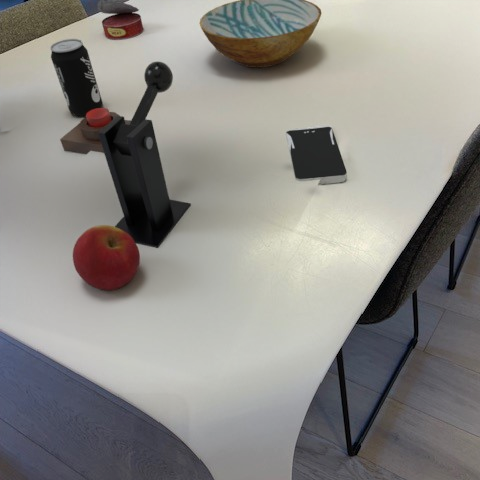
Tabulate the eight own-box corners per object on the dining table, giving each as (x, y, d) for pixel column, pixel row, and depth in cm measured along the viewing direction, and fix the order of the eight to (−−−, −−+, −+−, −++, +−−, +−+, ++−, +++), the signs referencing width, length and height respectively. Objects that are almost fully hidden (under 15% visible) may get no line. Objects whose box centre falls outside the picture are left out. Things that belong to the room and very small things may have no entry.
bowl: (186, 78, 103) (180, 36, 97) (227, 34, 119) (223, -5, 113) (304, 85, 96) (304, 40, 90) (331, 37, 112) (333, -4, 106)
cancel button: (84, 127, 84) (81, 117, 83) (97, 116, 87) (94, 106, 85) (103, 129, 83) (100, 119, 82) (116, 118, 85) (113, 108, 84)
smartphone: (295, 179, 73) (285, 129, 82) (295, 187, 74) (285, 137, 83) (347, 174, 72) (331, 125, 82) (347, 182, 73) (330, 132, 83)
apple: (102, 313, 59) (80, 263, 53) (75, 278, 64) (53, 229, 58) (156, 284, 62) (142, 234, 56) (127, 253, 66) (111, 203, 60)
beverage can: (93, 119, 94) (72, 52, 85) (64, 117, 96) (40, 51, 87) (109, 103, 98) (91, 38, 89) (81, 101, 100) (60, 37, 91)
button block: (64, 150, 87) (56, 129, 84) (92, 126, 92) (86, 105, 89) (121, 160, 83) (115, 137, 80) (148, 134, 88) (142, 112, 85)
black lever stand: (144, 201, 74) (118, 104, 63) (192, 210, 72) (173, 110, 61) (109, 242, 68) (73, 142, 57) (159, 253, 66) (132, 151, 55)
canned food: (109, 54, 129) (86, 14, 124) (139, 38, 132) (118, -2, 127) (122, 41, 119) (98, -3, 115) (155, 24, 122) (133, -19, 118)
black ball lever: (156, 76, 66) (146, 53, 62) (180, 78, 65) (171, 55, 61) (118, 157, 62) (105, 137, 59) (142, 161, 61) (130, 141, 58)
